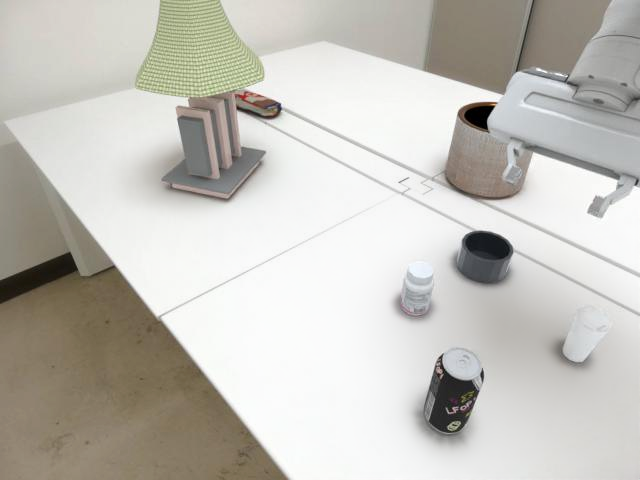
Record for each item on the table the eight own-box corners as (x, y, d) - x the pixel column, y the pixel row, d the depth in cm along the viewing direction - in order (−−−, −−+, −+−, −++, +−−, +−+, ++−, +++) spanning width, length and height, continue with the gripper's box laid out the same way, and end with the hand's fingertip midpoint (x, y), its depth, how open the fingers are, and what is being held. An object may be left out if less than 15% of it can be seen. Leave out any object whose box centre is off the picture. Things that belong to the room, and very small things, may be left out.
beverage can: (474, 414, 61) (496, 360, 54) (453, 446, 58) (473, 392, 50) (436, 389, 64) (452, 334, 57) (414, 417, 61) (428, 363, 53)
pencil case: (251, 95, 147) (250, 80, 144) (287, 115, 136) (286, 99, 133) (221, 104, 142) (219, 88, 139) (256, 125, 130) (254, 109, 127)
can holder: (512, 262, 85) (519, 241, 82) (497, 290, 79) (504, 269, 76) (466, 245, 89) (472, 224, 86) (449, 270, 83) (454, 249, 80)
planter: (428, 171, 111) (439, 109, 101) (484, 155, 117) (499, 95, 107) (480, 208, 99) (498, 142, 89) (538, 188, 105) (561, 124, 95)
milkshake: (561, 367, 67) (586, 322, 61) (555, 339, 71) (578, 294, 65) (594, 373, 66) (623, 328, 60) (586, 344, 70) (613, 299, 64)
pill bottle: (406, 291, 79) (412, 255, 74) (432, 302, 77) (441, 265, 72) (395, 309, 76) (401, 272, 71) (422, 320, 74) (430, 283, 69)
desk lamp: (247, 216, 96) (222, 7, 71) (134, 192, 103) (75, -6, 78) (292, 159, 115) (285, -21, 90) (194, 142, 122) (162, -30, 97)
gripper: (517, 48, 52) (457, 155, 53) (734, 95, 41) (656, 228, 42) (522, 77, 57) (468, 174, 58) (715, 125, 47) (647, 243, 47)
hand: (549, 197), depth 50 cm, fingers open, 8 cm apart
